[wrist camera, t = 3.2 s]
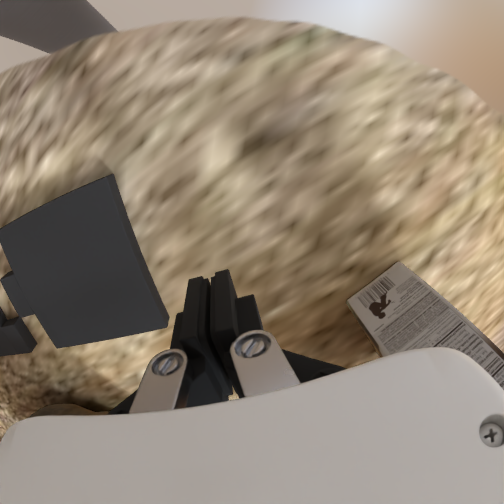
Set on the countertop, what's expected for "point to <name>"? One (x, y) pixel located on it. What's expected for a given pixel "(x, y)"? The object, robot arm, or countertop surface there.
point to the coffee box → (419, 320)
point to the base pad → (14, 336)
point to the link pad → (81, 268)
